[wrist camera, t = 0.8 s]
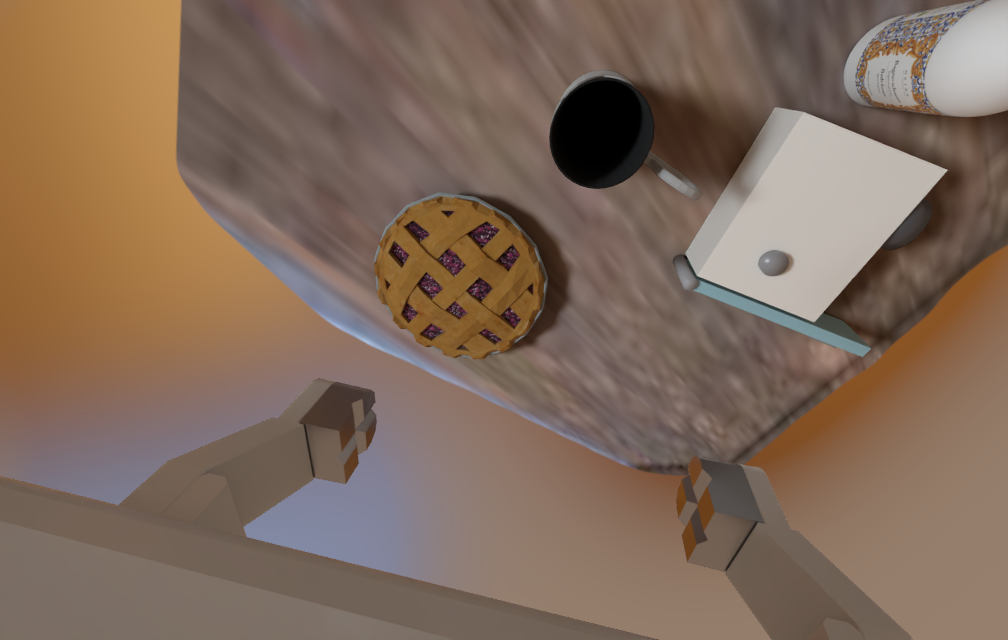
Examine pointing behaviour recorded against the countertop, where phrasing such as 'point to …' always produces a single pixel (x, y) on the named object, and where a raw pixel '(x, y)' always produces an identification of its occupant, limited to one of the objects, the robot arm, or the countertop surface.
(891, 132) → the countertop surface
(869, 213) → the knobbed cream box
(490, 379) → the countertop surface
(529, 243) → the pie
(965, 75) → the bath foam
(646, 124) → the grey mug
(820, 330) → the side door
